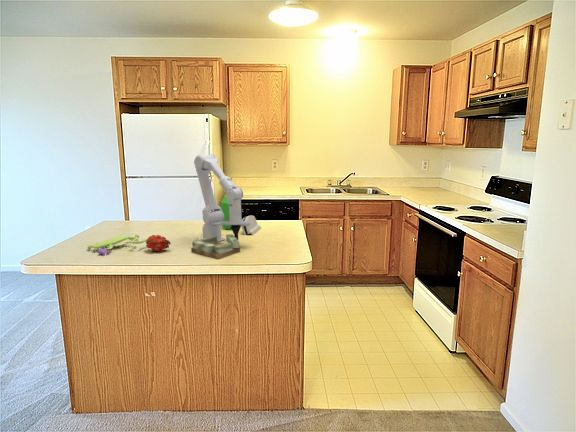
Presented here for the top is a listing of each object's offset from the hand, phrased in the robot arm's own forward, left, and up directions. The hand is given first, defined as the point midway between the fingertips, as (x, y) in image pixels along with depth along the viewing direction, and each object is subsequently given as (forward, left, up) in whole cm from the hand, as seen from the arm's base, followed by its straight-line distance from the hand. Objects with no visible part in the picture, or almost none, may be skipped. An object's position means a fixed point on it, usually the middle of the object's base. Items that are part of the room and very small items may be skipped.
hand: (236, 240), depth 191 cm
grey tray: (-2, -12, -3) cm, 13 cm away
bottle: (-29, +24, -3) cm, 37 cm away
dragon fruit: (-25, -27, -3) cm, 37 cm away
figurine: (-43, -36, -4) cm, 56 cm away
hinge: (-14, +26, -4) cm, 29 cm away
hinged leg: (+1, -4, -1) cm, 4 cm away
